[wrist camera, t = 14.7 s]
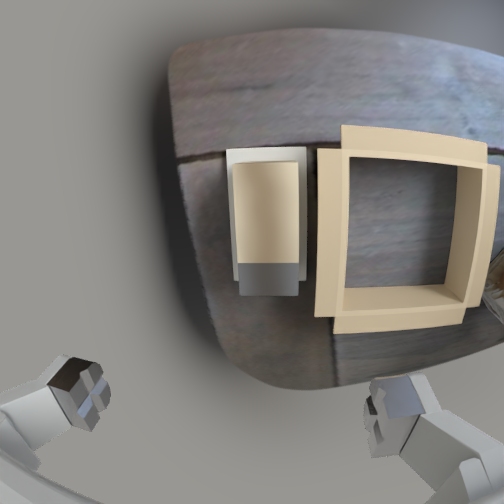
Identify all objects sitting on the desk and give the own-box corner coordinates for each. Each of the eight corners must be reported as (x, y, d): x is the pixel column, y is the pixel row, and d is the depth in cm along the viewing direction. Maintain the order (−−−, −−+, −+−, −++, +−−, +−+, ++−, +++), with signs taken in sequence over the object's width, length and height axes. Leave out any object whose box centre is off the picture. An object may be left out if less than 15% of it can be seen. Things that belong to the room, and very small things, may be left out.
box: (294, 160, 28) (298, 162, 22) (295, 269, 31) (298, 295, 25) (242, 161, 28) (232, 164, 22) (247, 269, 32) (239, 295, 26)
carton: (474, 144, 25) (500, 146, 20) (456, 301, 31) (474, 321, 26) (311, 128, 27) (316, 124, 22) (309, 309, 33) (313, 334, 28)
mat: (305, 147, 28) (306, 146, 27) (305, 278, 32) (306, 280, 31) (227, 149, 28) (226, 149, 28) (234, 278, 33) (234, 280, 32)
